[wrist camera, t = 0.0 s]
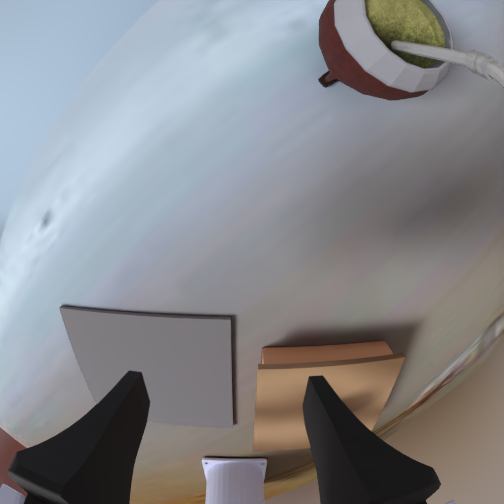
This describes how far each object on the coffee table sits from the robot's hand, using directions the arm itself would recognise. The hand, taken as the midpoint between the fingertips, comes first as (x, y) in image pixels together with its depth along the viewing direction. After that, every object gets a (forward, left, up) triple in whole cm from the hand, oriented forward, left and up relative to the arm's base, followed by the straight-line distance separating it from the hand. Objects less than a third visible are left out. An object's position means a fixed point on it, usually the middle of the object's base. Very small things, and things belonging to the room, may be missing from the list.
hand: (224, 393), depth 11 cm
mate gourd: (+16, -8, -10) cm, 21 cm away
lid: (-11, -8, -8) cm, 16 cm away
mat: (-9, +7, -10) cm, 16 cm away
